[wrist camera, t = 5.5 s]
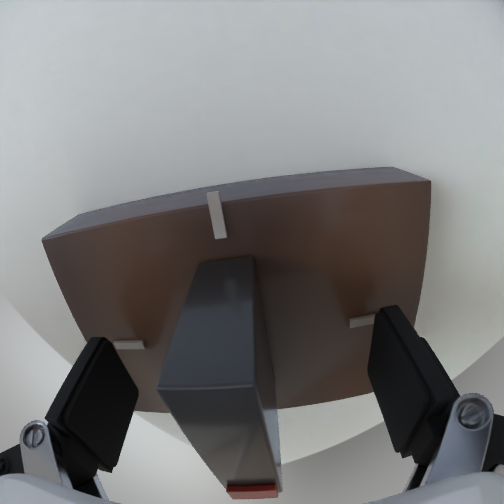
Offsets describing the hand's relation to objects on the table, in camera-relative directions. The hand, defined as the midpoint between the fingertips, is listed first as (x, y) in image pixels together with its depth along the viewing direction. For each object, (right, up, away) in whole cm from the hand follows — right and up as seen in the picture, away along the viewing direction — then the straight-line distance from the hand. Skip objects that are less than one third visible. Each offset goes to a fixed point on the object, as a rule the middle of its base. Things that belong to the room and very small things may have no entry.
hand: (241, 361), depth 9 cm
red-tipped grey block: (0, +1, +1) cm, 1 cm away
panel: (0, +2, +4) cm, 4 cm away
